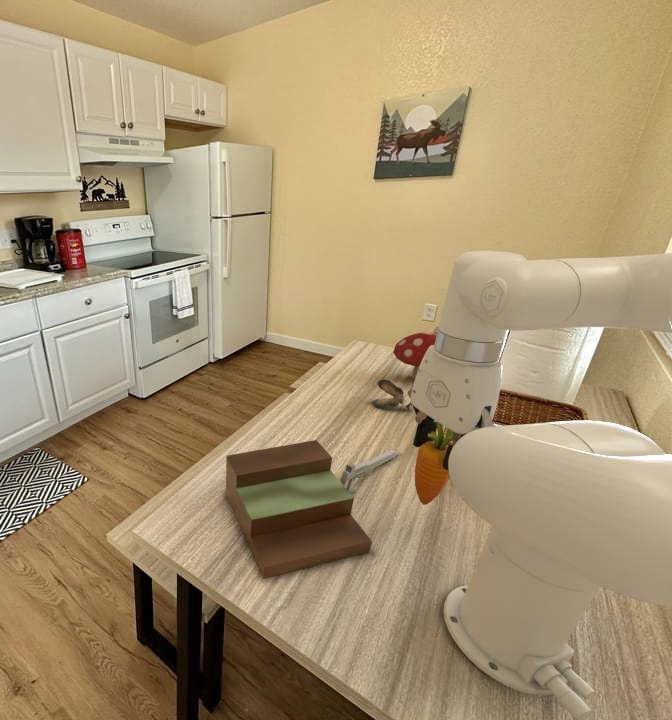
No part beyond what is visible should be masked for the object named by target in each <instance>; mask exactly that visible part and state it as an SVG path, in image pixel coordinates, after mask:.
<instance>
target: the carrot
mask: <svg viewBox="0 0 672 720" xmlns="http://www.w3.org/2000/svg"><path fill="white" fill-rule="evenodd" d="M435 422H436V426H437V429H436V431H437V432H436V433H435V432H433V431H432V432H431V433H432V434H428V437H430V438H432V439H433V441H427V442H425V443H424V444H423V445H421V446H420V447H418V451H417V456H416V460H415V467H414V487H415V491H416V495H417V497H418V499H419V502H420V504H421V505H423V506H425V505H429V504H430V503H432V502H433V501H434V500H435V499H436V498H437V497H438V496H440V494H441V493H442V491H443V490H444V489H445V487H446V486H447V483H448V482H449V480H450V479H451V478H450V474H449V470H445V469H444V468H443V466H442V465H443V461H444V458H445V454H446V451H447V447H448V446H449V443H451V442H453V431H451V430H450V429H448V428H447V429H446V433H445V429H444V426H443V425H442V424H440V423H439V422H437V421H435Z"/></svg>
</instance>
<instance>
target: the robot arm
mask: <svg viewBox="0 0 672 720" xmlns="http://www.w3.org/2000/svg"><path fill="white" fill-rule="evenodd" d="M453 263H454V264H453V267H452V271H451V275H450V279H449V283H448V287H447V291H446V296H445V300H444V303H443V307H442V312H441V316H440V320H439V324H438V326H436V327H434V329H433V334H435V335H437V337H436V341H435V345H432V346H430V347H429V348H428V350H427V352H426V353H425V355H424V357H423V359H422V362H421V364H420V366H419V369H418V372H417V375H416V378H415V379H414V382H413V384H412V388H411V389H409V390H408V391H407V395H408V396H409V398H410V400H411V403H412V408H413V410H414V413H415V418H414V421H415V423H417V427H416V430H415V433H414V438H413V441H412V446H414V447H415V448H420V446H421V445H423V444H424V443H425V442H427V441H434V440H433V439H432V438H430V437H428V434H432V433H431V432H432V431H433V432H435V433H436V434H437V426H436V422H439V423H440V424H442V425H443V427H445V428H447V430H448V429H450V430H451V431H453V433H452V437H453V440H452V444H450V445H449V444H448V447H447V451H446V454H445V458H444V461H443V465H442V466H443V468H444V469H445V470H449V474H450V478H449V479H450V480H451V483H452V486H453V487H454V489H455V491H456V492H457V495H458V496H459V497H460V498H461V500H462V501H463V502H464V503H465V505H466V506H467V507H468V508H469V509H470V510H471V511H472V512H473V513H475V514H476V515H477V516H478V517H480V519H482V520H483V521H485V522H486V523H488V524H489V525H491V528H490V530H489V533H488V535H487V538H486V540H485V543H484V545H483V548H482V550H481V553H480V555H479V558H478V560H477V562H476V565H475V567H474V570H473V572H472V575H471V577H470V579H469V582H468V584H465V585H461V586H458V587H454V589H452V590H451V591H450V592H449V593H448V595H447V596H446V599H445V601H444V603H443V611H442V613H443V618H444V623H445V626H446V628H447V630H448V633H449V634H450V636H451V638H452V640H453V641H454V642H455V644H456V645H457V647H458V648H459V649H460V650H461V652H462V653H463V654H464V656H466V657H467V658H468V660H470V661H471V662H472V663H473V664H474V665H475V666H476V667H477V668H478V669H480V670H481V671H482V672H484V674H486V675H488V676H489V677H490V678H492V679H494V680H495V681H497V682H499V683H500V684H502V685H504V686H506V687H508V688H510V689H513V690H515V691H517V692H521V693H524V694H527V695H532V696H541V697H543V696H551V695H553V696H554V697H555V698H556V699H557V700H558V703H559V704H561V706H562V707H563V708H564V709H565V710H566V711H567V712H568V714H569V715H570V716H572V718H573V719H574V720H587V719H588V718H590V717H591V716H592V714H593V713H594V711H593V709H592V708H591V707H590V706H589V705H588V704H587V703H586V702H585V701H584V700H589V699H591V698H592V697H594V696H595V695H596V693H597V692H596V691H595V689H593V688H592V687H591V686H590V685H589V683H587V682H586V681H585V680H584V679H583V678H581V677H580V676H579V675H578V674H577V673H576V672H575V671H574V670H573V665H572V664H571V663H570V661H571V659H572V658H573V657H574V655H575V650H574V649H573V648H572V647H571V646H570V645H569V644H568V643H567V642H568V640H569V638H570V637H571V636H572V634H573V632H574V630H575V628H576V627H577V626H578V624H579V622H580V621H581V619H582V618H583V616H584V614H585V613H586V611H587V609H588V608H589V606H590V604H591V603H592V602H593V599H594V598H595V597H596V594H597V593H598V591H599V590H600V589H601V587H602V588H603V589H606V590H608V591H610V592H613V593H616V594H618V595H620V596H623V597H627V598H629V599H633V600H635V601H640V602H643V603H647V604H651V605H655V606H660V607H667V608H672V453H671V454H667V453H666V452H665V451H664V450H663V449H662V448H661V446H659V445H658V444H657V443H656V442H655V441H653V440H652V439H651V438H650V437H648V436H646V435H644V434H643V433H641V432H639V431H637V430H636V429H633V428H630V427H627V426H624V425H621V424H617V423H612V422H606V421H599V420H564V421H548V422H535V423H526V424H525V423H524V424H506V425H495V424H494V422H493V419H494V417H495V413H496V411H497V406H498V402H499V397H500V393H501V387H502V379H503V377H502V376H503V364H502V363H501V362H500V359H501V356H502V352H503V350H504V346H505V343H506V340H507V338H508V334H509V331H511V332H513V331H517V332H518V331H521V332H523V331H539V330H552V329H553V330H554V329H582V328H583V329H585V328H588V329H589V328H606V329H624V330H636V331H651V332H661V333H671V334H672V252H668V253H667V252H666V253H653V254H652V253H651V254H642V255H641V254H639V255H625V256H624V255H623V256H606V257H575V258H574V257H572V258H571V257H570V258H569V257H568V258H547V259H527V258H526V257H525V256H524V255H522V254H519V253H515V252H510V251H503V250H502V251H501V250H471V251H466V252H463V253H461V254H460V255H458V257H457V258H456V259H455V261H454V262H453ZM567 682H568V683H569V684H570V685H571V687H572V688H573V689H574V690H575V691H576V692H577V693H578V694H579V695H580V696H581V697H582V698H583V699H584V700H583V699H582V698H581V697H580V696H579V695H578V694H577V693H576V692H575V691H574V690H572V689H571V688H570V687H569V686H568V685H567Z"/></svg>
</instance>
